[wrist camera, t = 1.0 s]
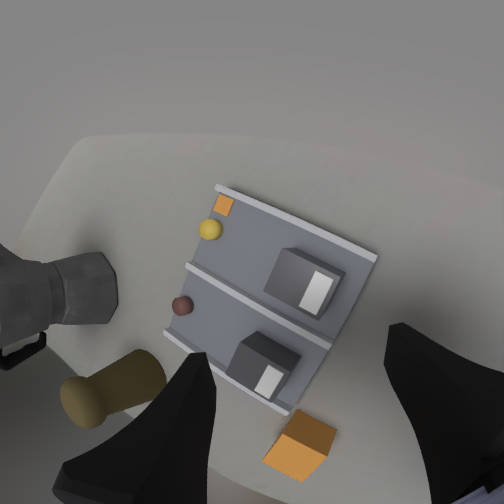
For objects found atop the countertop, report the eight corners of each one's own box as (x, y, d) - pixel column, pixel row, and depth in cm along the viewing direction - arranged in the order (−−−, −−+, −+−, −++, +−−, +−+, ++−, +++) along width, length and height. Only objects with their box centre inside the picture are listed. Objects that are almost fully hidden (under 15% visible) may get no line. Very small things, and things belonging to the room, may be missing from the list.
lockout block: (336, 429, 21) (327, 456, 17) (314, 455, 22) (302, 482, 18) (297, 409, 23) (282, 433, 19) (278, 436, 23) (261, 461, 20)
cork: (134, 338, 30) (52, 364, 20) (173, 372, 28) (91, 413, 18) (124, 375, 31) (52, 404, 21) (159, 407, 29) (87, 448, 19)
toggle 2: (345, 272, 19) (340, 277, 17) (326, 310, 20) (318, 321, 17) (295, 247, 21) (281, 248, 18) (278, 285, 21) (262, 291, 19)
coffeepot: (85, 225, 33) (-43, 221, 17) (129, 249, 30) (-32, 254, 13) (73, 328, 36) (-35, 351, 19) (111, 364, 32) (-11, 406, 16)
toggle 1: (302, 356, 21) (289, 372, 18) (284, 385, 21) (270, 404, 18) (257, 330, 22) (238, 342, 19) (242, 360, 23) (223, 374, 20)
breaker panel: (377, 254, 20) (377, 255, 18) (295, 403, 23) (286, 417, 20) (230, 188, 25) (215, 183, 22) (177, 328, 27) (161, 334, 25)
